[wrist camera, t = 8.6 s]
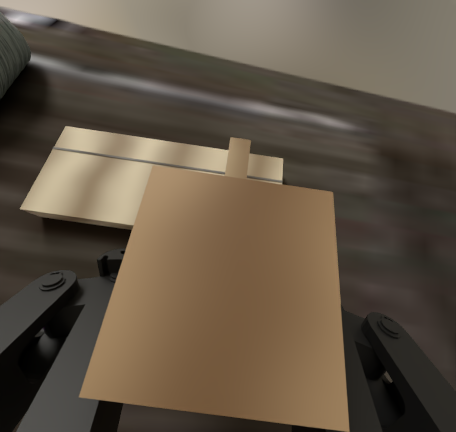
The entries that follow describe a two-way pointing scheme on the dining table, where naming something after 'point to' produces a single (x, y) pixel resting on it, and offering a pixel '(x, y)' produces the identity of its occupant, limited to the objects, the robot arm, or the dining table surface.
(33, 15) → the dining table surface
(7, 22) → the spool
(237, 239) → the tan angular block
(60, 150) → the board
